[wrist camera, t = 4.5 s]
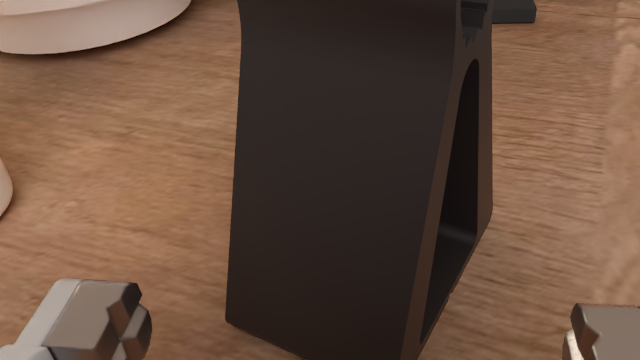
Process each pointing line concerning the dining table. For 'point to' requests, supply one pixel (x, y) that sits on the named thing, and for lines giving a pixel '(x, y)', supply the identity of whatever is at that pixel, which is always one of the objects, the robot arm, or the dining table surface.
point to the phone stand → (358, 170)
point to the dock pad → (514, 11)
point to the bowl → (78, 23)
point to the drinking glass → (5, 188)
